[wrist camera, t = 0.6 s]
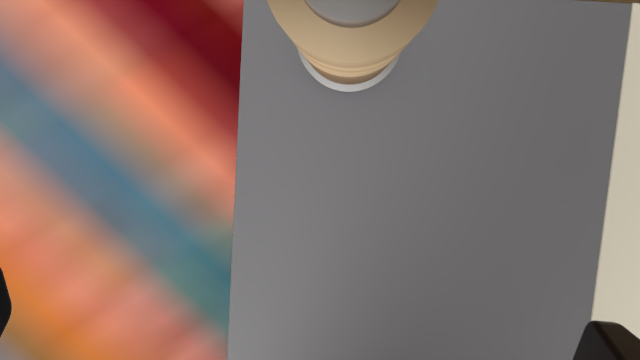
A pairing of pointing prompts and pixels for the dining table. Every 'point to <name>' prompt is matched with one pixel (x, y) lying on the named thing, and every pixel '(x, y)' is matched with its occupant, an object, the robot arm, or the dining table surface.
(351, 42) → the tan cylinder
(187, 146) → the dining table surface
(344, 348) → the subfloor board
